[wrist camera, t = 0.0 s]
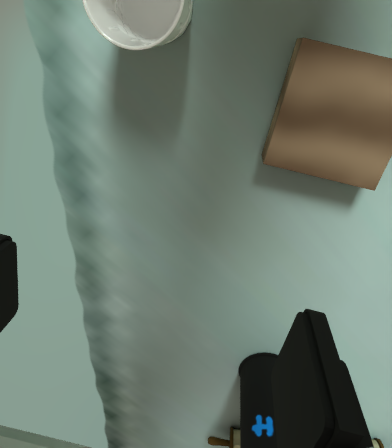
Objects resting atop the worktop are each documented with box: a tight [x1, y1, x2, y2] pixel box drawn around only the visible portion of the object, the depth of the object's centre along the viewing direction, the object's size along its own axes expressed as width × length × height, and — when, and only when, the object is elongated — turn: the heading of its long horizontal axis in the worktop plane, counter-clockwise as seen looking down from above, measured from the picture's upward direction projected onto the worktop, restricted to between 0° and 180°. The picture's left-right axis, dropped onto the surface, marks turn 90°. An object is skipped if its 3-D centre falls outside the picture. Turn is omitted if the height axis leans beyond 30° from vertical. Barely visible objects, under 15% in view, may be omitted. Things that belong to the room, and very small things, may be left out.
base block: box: [262, 38, 392, 191], centre depth 36 cm, size 12×12×4 cm
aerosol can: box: [239, 353, 278, 448], centre depth 46 cm, size 8×8×20 cm
